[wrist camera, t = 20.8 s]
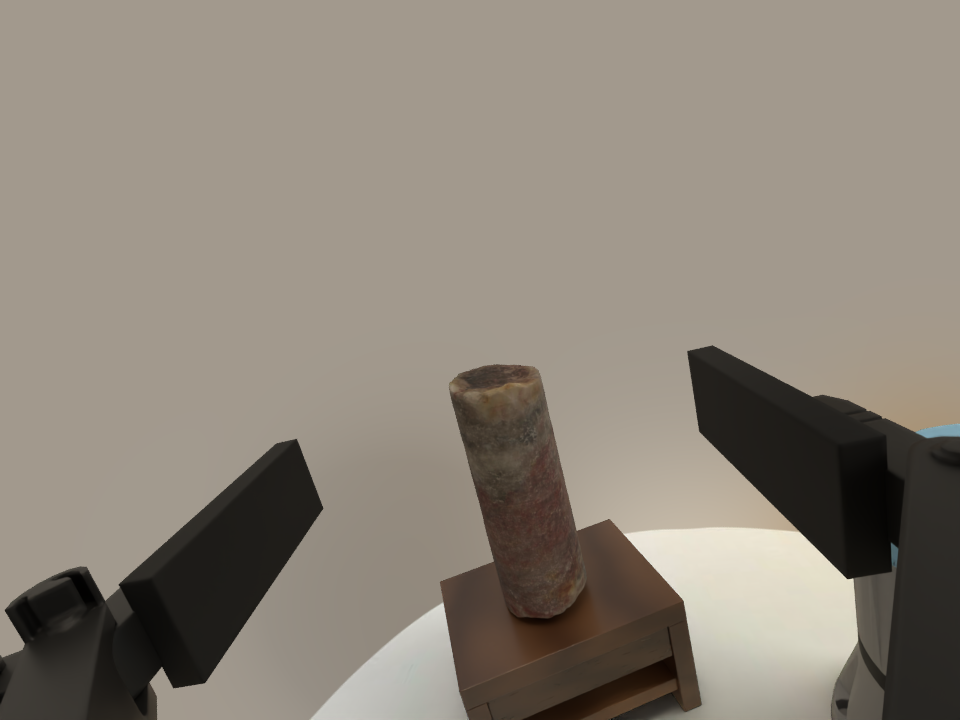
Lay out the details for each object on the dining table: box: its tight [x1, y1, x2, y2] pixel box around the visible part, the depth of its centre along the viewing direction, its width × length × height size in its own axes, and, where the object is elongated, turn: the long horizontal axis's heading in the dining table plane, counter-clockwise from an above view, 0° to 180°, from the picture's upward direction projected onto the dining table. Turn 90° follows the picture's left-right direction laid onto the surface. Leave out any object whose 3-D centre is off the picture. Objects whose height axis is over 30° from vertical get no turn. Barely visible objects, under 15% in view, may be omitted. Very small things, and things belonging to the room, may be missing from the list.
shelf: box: [440, 519, 701, 720], centre depth 41 cm, size 18×12×10 cm, turn 101°
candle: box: [449, 365, 587, 618], centre depth 37 cm, size 8×7×20 cm
